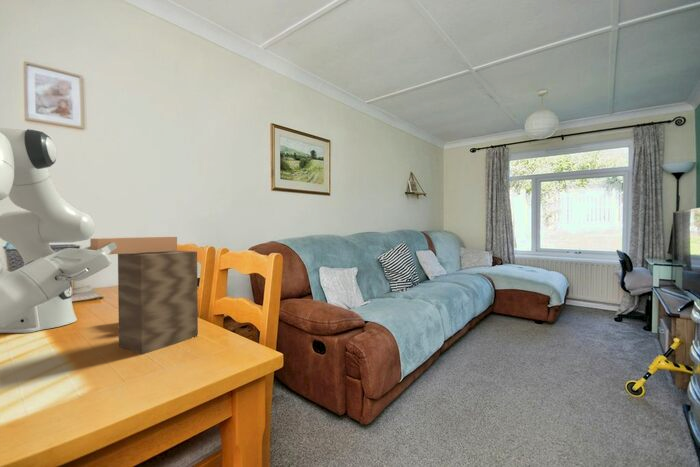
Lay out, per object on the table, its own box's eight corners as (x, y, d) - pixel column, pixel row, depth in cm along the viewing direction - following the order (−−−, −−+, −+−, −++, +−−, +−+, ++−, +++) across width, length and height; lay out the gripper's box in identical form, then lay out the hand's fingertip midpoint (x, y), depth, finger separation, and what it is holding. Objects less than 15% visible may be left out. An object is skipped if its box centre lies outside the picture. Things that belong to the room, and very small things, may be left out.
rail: (98, 255, 77) (97, 238, 77) (90, 254, 79) (90, 238, 79) (177, 250, 95) (177, 236, 95) (169, 249, 97) (169, 236, 97)
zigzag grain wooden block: (142, 354, 83) (140, 255, 82) (118, 345, 89) (117, 253, 88) (197, 336, 97) (197, 251, 96) (174, 329, 103) (173, 250, 102)
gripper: (57, 269, 64) (122, 234, 75) (22, 263, 74) (83, 233, 85) (77, 293, 67) (137, 256, 77) (40, 284, 77) (98, 252, 88)
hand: (109, 244), depth 81 cm, fingers closed on rail, 4 cm apart
